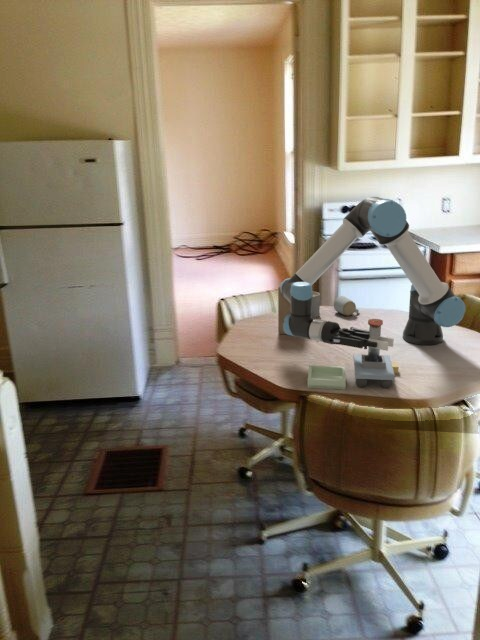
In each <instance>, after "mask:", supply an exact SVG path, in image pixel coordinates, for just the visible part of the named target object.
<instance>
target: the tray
mask: <svg viewBox="0 0 480 640" xmlns="http://www.w3.org/2000/svg"><path fill="white" fill-rule="evenodd" d="M307 371H308V373H307V388H308V389H324V390H325V389H327V390H345V391H346V385H347V383H346V381H347V378H346V377H347V376H346V366H339V365H336V366H335V365H315V364H313V365H311V364H309V365H308V370H307Z"/></svg>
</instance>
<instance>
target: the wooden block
mask: <svg viewBox="0 0 480 640" xmlns="http://www.w3.org/2000/svg"><path fill="white" fill-rule="evenodd" d="M282 282H283V281H281V282H280V284H279V286H278V288H277V289H278V294H277V295H278V297H277V299H278V300H277V301H278V303H277V305H278V306H277V310H278V311H277V312H278V314H277V316H278V317H277V318H278V321H277V323H278V324H277V327H278V331H277V333H278V334H279V335H287V334H286V333H285V332H284V329H283V323H284V319H285V317H286V316H287V315H289V314H291V304H290V303H289V301H288V300H287V299H285V298H284V296H283V295H282V293H281V290H280V287H281V284H282Z"/></svg>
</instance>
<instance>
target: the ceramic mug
mask: <svg viewBox="0 0 480 640" xmlns="http://www.w3.org/2000/svg"><path fill="white" fill-rule="evenodd" d="M356 306H357V305H356V303H355V302H354V301H353V300H351V299H350V298H347V297H346V296H344V295H341V296H338V297H336V298H335V300H334V301H333V309H334V310H335V311H336V312H337V313H339V314H341V315H343V316H349V317H350V316H352V315H353V314H359V312H360V310H359V309H358V308H357V307H356Z"/></svg>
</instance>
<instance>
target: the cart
mask: <svg viewBox="0 0 480 640" xmlns="http://www.w3.org/2000/svg"><path fill="white" fill-rule="evenodd" d="M353 366H354V367H353V369H354V376H355V384H356V386H357V387H358V388H364V387H366V386H367V383H368V380H381V381H380V382H381V387H382V388H384V389H391V388H392V387H393V385H394V382H393V381H395V377H396V375H398V374H399V364H398V362H393V361H392V360H391V356H390V355H389V354H379V362H368V353H367V354H366V353H365V354H364V353H363V354H362V353H361V354H360V353H354V354H353ZM395 374H396V375H395Z"/></svg>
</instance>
